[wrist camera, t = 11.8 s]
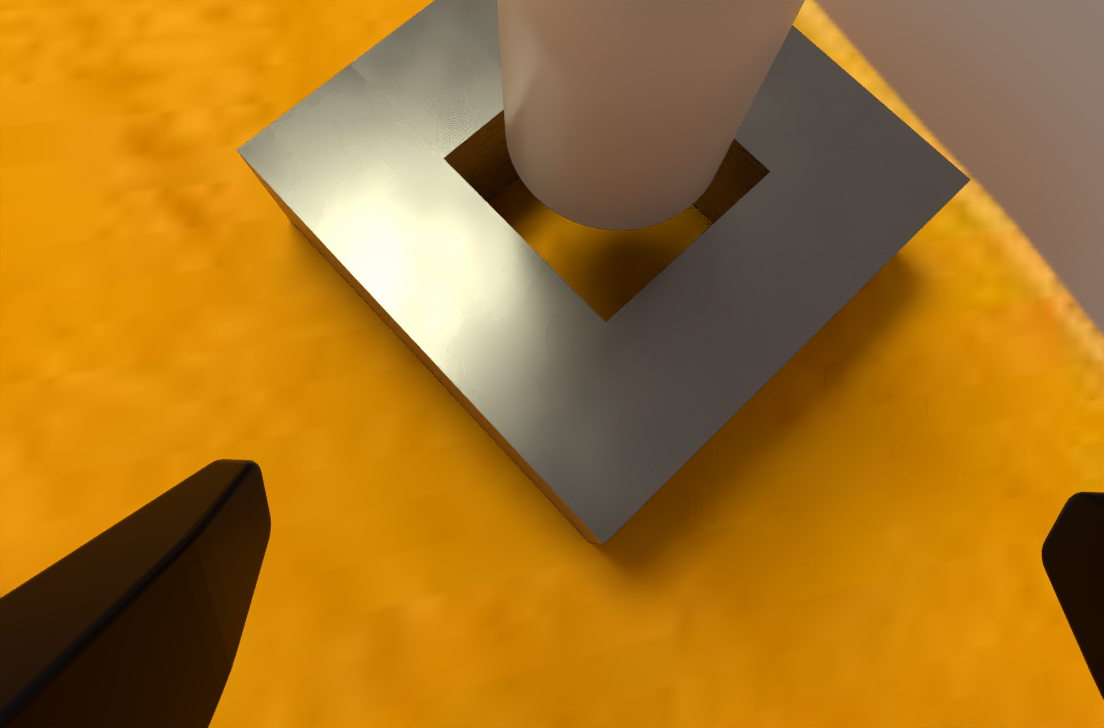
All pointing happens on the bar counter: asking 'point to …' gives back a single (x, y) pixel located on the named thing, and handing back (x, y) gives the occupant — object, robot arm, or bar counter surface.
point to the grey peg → (630, 98)
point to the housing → (540, 292)
